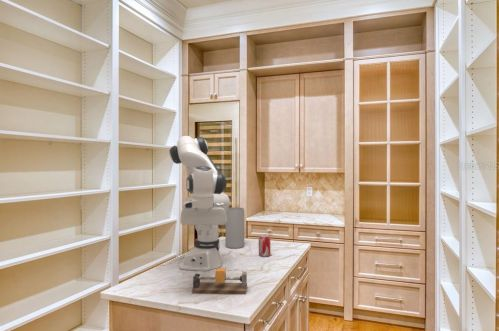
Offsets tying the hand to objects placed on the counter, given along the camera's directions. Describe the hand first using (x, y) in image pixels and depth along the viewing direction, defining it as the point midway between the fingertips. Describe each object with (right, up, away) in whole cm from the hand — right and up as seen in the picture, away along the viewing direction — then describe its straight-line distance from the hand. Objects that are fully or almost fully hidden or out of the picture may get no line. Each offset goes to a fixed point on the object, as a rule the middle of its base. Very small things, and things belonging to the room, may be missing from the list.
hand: (204, 234), depth 144 cm
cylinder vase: (+10, -23, +74) cm, 78 cm away
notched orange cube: (+7, -20, 0) cm, 21 cm away
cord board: (+7, -24, 0) cm, 25 cm away
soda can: (+29, -24, +51) cm, 64 cm away
